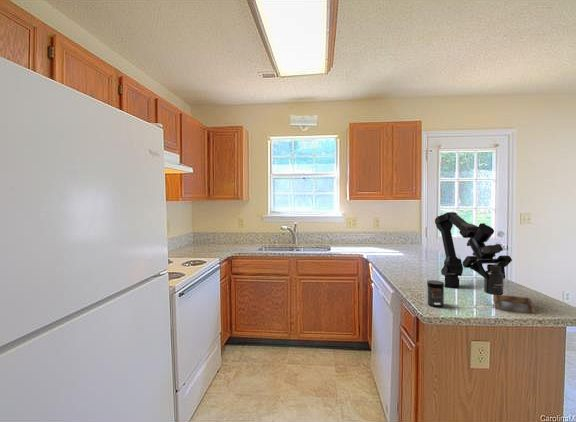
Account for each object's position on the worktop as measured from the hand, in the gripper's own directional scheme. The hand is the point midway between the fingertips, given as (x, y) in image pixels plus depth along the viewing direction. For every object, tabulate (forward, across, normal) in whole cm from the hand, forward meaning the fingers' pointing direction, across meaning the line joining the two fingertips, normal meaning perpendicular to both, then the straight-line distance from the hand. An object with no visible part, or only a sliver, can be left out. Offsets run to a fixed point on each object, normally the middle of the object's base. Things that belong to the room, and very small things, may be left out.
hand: (495, 278), depth 124 cm
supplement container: (+5, -22, +14) cm, 27 cm away
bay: (+7, +9, +11) cm, 16 cm away
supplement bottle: (+4, 0, +6) cm, 7 cm away
